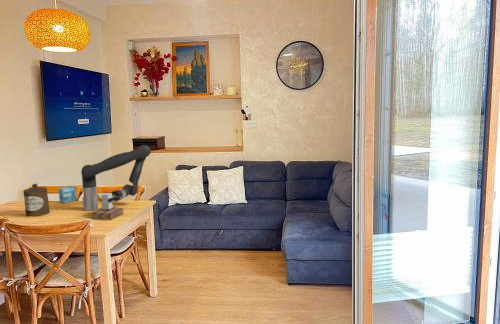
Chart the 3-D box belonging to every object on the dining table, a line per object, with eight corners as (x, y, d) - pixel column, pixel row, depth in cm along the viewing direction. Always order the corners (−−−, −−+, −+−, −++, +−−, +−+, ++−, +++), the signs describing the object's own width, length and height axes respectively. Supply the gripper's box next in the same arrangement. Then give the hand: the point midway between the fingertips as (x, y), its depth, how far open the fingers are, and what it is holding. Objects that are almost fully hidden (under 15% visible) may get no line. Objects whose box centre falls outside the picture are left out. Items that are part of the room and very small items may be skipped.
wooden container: (21, 217, 258) (18, 186, 255) (32, 211, 273) (29, 182, 270) (43, 216, 259) (40, 185, 256) (53, 210, 274) (50, 181, 271)
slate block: (102, 209, 252) (101, 194, 251) (106, 207, 257) (105, 193, 255) (108, 209, 251) (107, 194, 250) (113, 207, 256) (112, 193, 254)
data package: (63, 203, 295) (62, 188, 293) (59, 203, 297) (58, 188, 295) (76, 200, 306) (75, 185, 304) (72, 199, 308) (71, 185, 306)
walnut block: (93, 219, 250) (92, 212, 249) (106, 213, 263) (105, 207, 263) (111, 220, 246) (110, 213, 246) (123, 214, 260) (122, 207, 259)
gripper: (109, 189, 268) (94, 195, 251) (127, 190, 265) (114, 195, 249) (109, 199, 269) (95, 205, 252) (127, 200, 266) (114, 206, 250)
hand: (104, 200), depth 251 cm, fingers closed on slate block, 5 cm apart
